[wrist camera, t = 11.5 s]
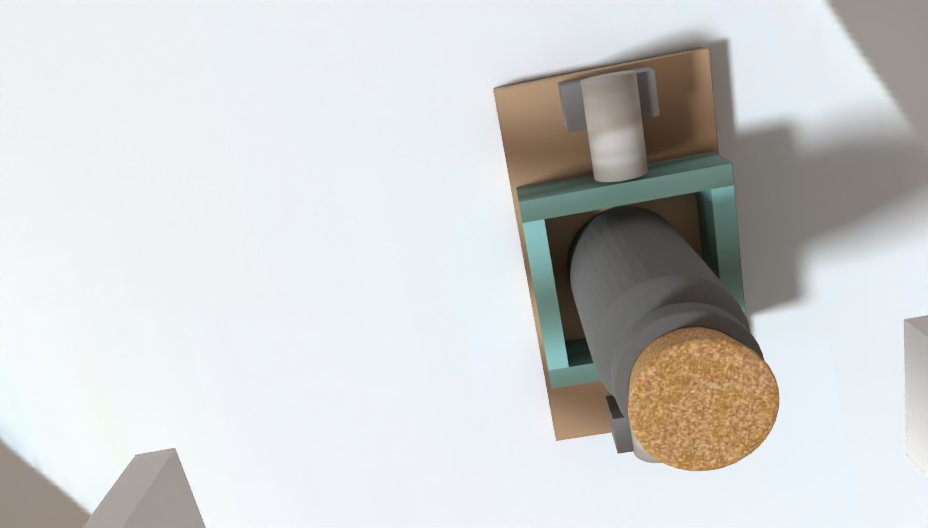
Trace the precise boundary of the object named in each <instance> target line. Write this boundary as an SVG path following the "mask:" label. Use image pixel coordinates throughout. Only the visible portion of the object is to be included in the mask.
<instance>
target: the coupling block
mask: <svg viewBox="0 0 928 528" xmlns="http://www.w3.org/2000/svg"><path fill="white" fill-rule="evenodd" d="M493 89H494V96H495V101H496V107H497V112H498V118H499V124H500V129H501V135H502V140H503V146H504V152H505V157H506V163H507V168H508V174H509V180H510V185H511V191H512V196H513V202H514V208H515V213H516V219H517V224H518V230H519V236H520V241H521V247H522V252H523V258H524V263H525V269H526V275H527V280H528V286H529V291H530V297H531V303H532V308H533V314H534V319H535V325H536V331H537V336H538V342H539V347H540V353H541V359H542V364H543V370H544V375H545V381H546V387H547V392H548V398H549V403H550V409H551V415H552V420H553V426H554V431H555V437H556V441H558V440H565V439H571V438H578V437H584V436H591V435H597V434H604V433H610V432H612V435H613V438H614V442H615V445H616V449H617V452H618V453H625V452H632V451H634V454H635V456H636V457H637V458H639V459H640V460H643V461H645V462H650V463H662V462H660V461H659V460H657V459H656V458H654V457H653V456H651V455H650V454H649V453H648V452H647V451H646V450H645V449H644V448H643V447H642V446H641V445H640V443H639V442H638V440H637V439H636V437H635V435H634V433H633V431H632V428H631V426H630V423H629V422H628V421H627V420H626V418H625V417H624V416H623V414H622V413H621V411H620V408H619V406H618V404H617V402H616V399H615V397H614V396H613V395H612V394H611V393H610V392H609V391H608V390H607V389H606V387H605V386H604V384H603V383H602V381H601V380H600V377H599V375H598V373H597V370H596V368H595V365H594V362H593V360H592V356H591V353H590V350H589V346H588V343H587V340H586V337H585V333H584V330H583V327H582V323H581V320H580V317H579V313H578V310H577V307H576V303H575V300H574V296H573V293H572V289H571V286H570V282H569V277H568V271H567V258H568V252H569V248H570V245H571V243H572V241H573V239H574V237H575V235H576V234H577V232H578V231H579V230H580V228H581V227H582V226H583V225H584V224H585V223H586V222H587V221H589V220H590V219H591V218H592V217H594V216H596V215H597V214H599V213H601V212H603V211H606V210H608V209H612V208H616V207H624V206H632V207H640V208H644V209H647V210H650V211H652V212H655V213H657V214H658V215H660V216H661V217H663V218H664V219H665V220H667V221H668V222H669V223H670V224H671V225H672V226H673V227H674V228H675V229H676V230H677V231H678V233H679V234H680V235H681V236H682V237H683V238H684V239H685V240H686V242H687V243H688V244H689V245H690V246H691V247H692V248H693V250H694V251H695V252H696V253H697V254H698V255H699V256H700V258H701V259H702V260H703V261H704V262H705V263H706V264H707V266H708V267H709V268H710V269H711V270H712V271H713V273H714V274H715V275H716V276H717V277H718V278H719V280H720V281H721V282H722V283H723V284H724V285H725V287H726V288H727V289H728V290H729V291H730V293H731V294H732V295H733V297H734V298H735V299H736V301H737V302H738V303H739V305H740V306H741V308H742V310H743V312H744V314H745V306H744V295H743V283H742V272H741V260H740V249H739V237H738V226H737V214H736V203H735V191H734V180H733V168H732V163H731V162H729V161H728V160H726V159H724V158H723V157H721V156H719V154H718V143H717V132H716V121H715V111H714V100H713V89H712V78H711V67H710V56H709V49H707V48H697V49H692V50H687V51H682V52H677V53H672V54H667V55H662V56H657V57H651V58H646V59H641V60H636V61H631V62H626V63H621V64H616V65H611V66H605V67H600V68H595V69H590V70H585V71H580V72H575V73H570V74H565V75H559V76H554V77H549V78H544V79H539V80H534V81H529V82H524V83H518V84H513V85H508V86H503V87H498V88H493Z"/></svg>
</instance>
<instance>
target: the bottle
mask: <svg viewBox="0 0 928 528" xmlns="http://www.w3.org/2000/svg"><path fill="white" fill-rule="evenodd" d="M567 271H568V277H569V282H570V286H571V289H572V293H573V296H574V300H575V303H576V307H577V310H578V313H579V317H580V320H581V323H582V327H583V330H584V333H585V337H586V340H587V343H588V346H589V350H590V353H591V356H592V360H593V362H594V365H595V368H596V370H597V373H598V375H599V377H600V380H601V381H602V383H603V384H604V386H605V387H606V389H607V390H608V391H609V392H610V393H611V394H612V395H613V396H614V397H615V399H616V402H617V404H618V406H619V408H620V411H621V413H622V414H623V416H624V417H625V418H626V420H627V421H628V422H629V423H630V426H631V428H632V431H633V433H634V435H635V437H636V439H637V440H638V442H639V443H640V445H641V446H642V447H643V448H644V449H645V450H646V451H647V452H648V453H649V454H650V455H651V456H653V457H654V458H656V459H657V460H659V461H660V462H662V463H664V464H666V465H669V466H672V467H675V468H678V469H683V470H689V471H708V470H715V469H719V468H723V467H726V466H729V465H731V464H734V463H736V462H738V461H739V460H741V459H743V458H744V457H746V456H748V455H749V454H751V453H752V452H753V451H754V450H755V449H756V448H758V447H759V446H760V445H761V443H762V442H763V441H764V440H765V439H766V437H767V436H768V434H769V433H770V431H771V429H772V427H773V425H774V423H775V421H776V417H777V413H778V409H779V390H778V386H777V382H776V379H775V376H774V374H773V373H772V371H771V369H770V367H769V365H768V364H767V363H766V362H765V361H764V358H763V354H762V352H761V349H760V347H759V344H758V343H757V341H756V340H755V338H754V337H753V336H752V334H751V333H750V329H749V324H748V321H747V318H746V316H745V314H744V312H743V310H742V308H741V306H740V305H739V303H738V302H737V301H736V299H735V298H734V297H733V295H732V294H731V293H730V291H729V290H728V289H727V288H726V287H725V285H724V284H723V283H722V282H721V281H720V280H719V278H718V277H717V276H716V275H715V274H714V273H713V271H712V270H711V269H710V268H709V267H708V266H707V264H706V263H705V262H704V261H703V260H702V259H701V258H700V256H699V255H698V254H697V253H696V252H695V251H694V250H693V248H692V247H691V246H690V245H689V244H688V243H687V242H686V240H685V239H684V238H683V237H682V236H681V235H680V234H679V233H678V231H677V230H676V229H675V228H674V227H673V226H672V225H671V224H670V223H669V222H668V221H667V220H665V219H664V218H663V217H661V216H660V215H658V214H657V213H655V212H652V211H650V210H647V209H644V208H640V207H632V206H624V207H616V208H612V209H608V210H606V211H603V212H601V213H599V214H597V215H596V216H594V217H592V218H591V219H590V220H589V221H587V222H586V223H585V224H584V225H583V226H582V227H581V228H580V230H579V231H578V232H577V234H576V235H575V237H574V239H573V241H572V243H571V245H570V248H569V252H568V258H567Z"/></svg>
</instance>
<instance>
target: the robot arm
mask: <svg viewBox="0 0 928 528" xmlns="http://www.w3.org/2000/svg"><path fill="white" fill-rule="evenodd" d="M904 349H905V410H906V456H907V457H908V458H909V459H910V460H911V461H912V462H913V463H914V464H915V465H916V466H917V467H918V468H919V470H920V471H921V472H922V473H923V474H924V475H925V476H926V477H927V478H928V315H927V316H921V317H915V318H910V319H904ZM83 528H206V527H205V525H204V522H203V519H202V517H201V514H200V512H199V509H198V506H197V504H196V501H195V499H194V496H193V493H192V491H191V488H190V486H189V483H188V480H187V478H186V475H185V473H184V470H183V467H182V465H181V462H180V460H179V457H178V454H177V452H176V449H175V448H172V449H166V450H160V451H155V452H149V453H143V454H138V455H135V457H134V458H133V459H132V461H131V462H130V463H129V465H128V466H127V468H126V469H125V470H124V472H123V473H122V474H121V476H120V477H119V478H118V480H117V481H116V483H115V484H114V485H113V487H112V488H111V489H110V491H109V492H108V493H107V495H106V496H105V498H104V499H103V500H102V502H101V503H100V504H99V506H98V507H97V508H96V510H95V511H94V513H93V514H92V515H91V517H90V518H89V519H88V521H87V522H86V524H85V525H84V526H83Z"/></svg>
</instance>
